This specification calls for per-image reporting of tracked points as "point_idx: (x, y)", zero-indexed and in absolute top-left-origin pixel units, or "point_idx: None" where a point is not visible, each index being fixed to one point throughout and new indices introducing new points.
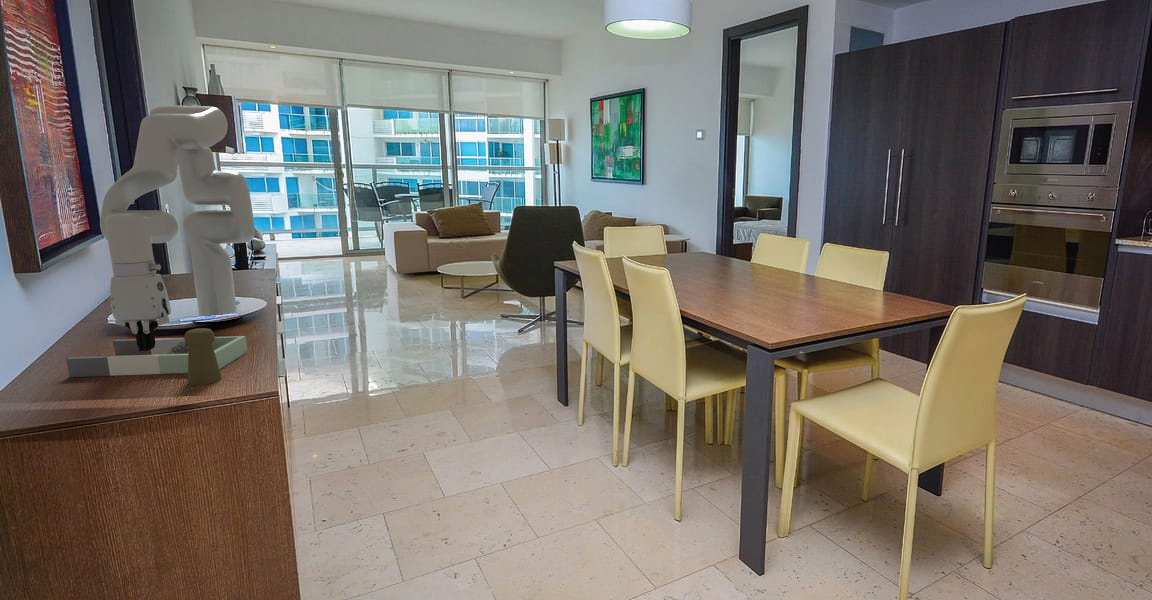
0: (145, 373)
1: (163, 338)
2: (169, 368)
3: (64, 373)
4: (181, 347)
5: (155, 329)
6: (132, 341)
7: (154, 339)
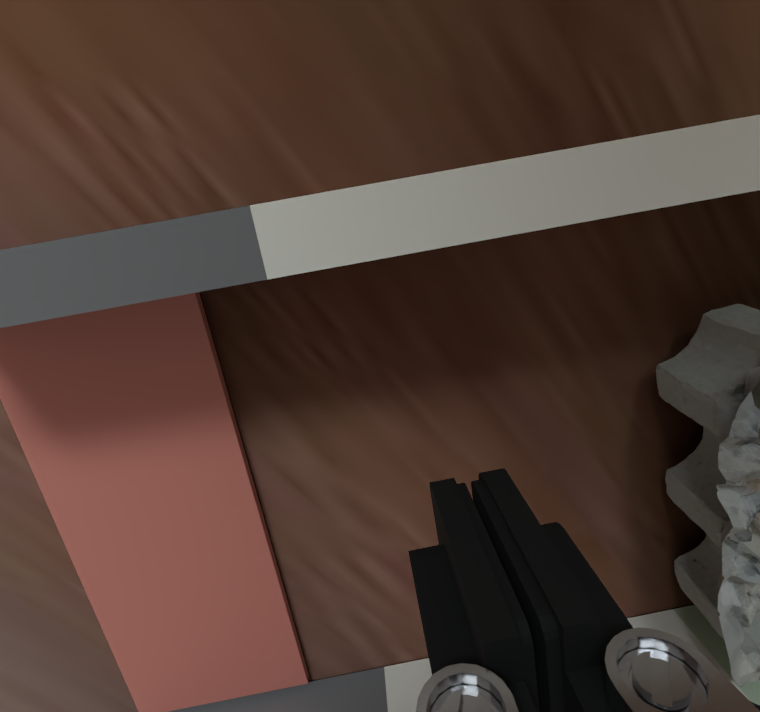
0: None
1: (409, 190)
2: None
3: (36, 690)
4: (735, 390)
5: (689, 655)
6: (53, 317)
7: (585, 565)
